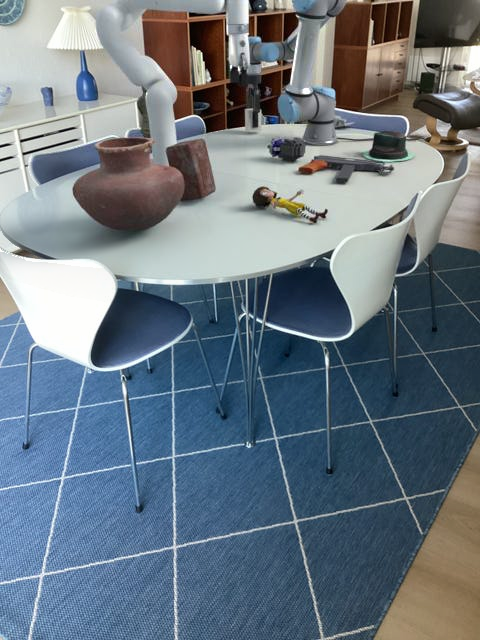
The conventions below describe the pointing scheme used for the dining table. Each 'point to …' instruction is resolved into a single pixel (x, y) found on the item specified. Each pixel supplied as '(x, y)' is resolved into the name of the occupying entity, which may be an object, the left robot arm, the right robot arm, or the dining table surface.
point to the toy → (287, 148)
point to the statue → (144, 115)
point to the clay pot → (128, 186)
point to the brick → (249, 121)
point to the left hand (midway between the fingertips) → (238, 84)
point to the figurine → (284, 203)
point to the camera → (338, 120)
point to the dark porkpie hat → (388, 147)
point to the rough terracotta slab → (192, 168)
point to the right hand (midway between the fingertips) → (253, 126)
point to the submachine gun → (343, 166)
